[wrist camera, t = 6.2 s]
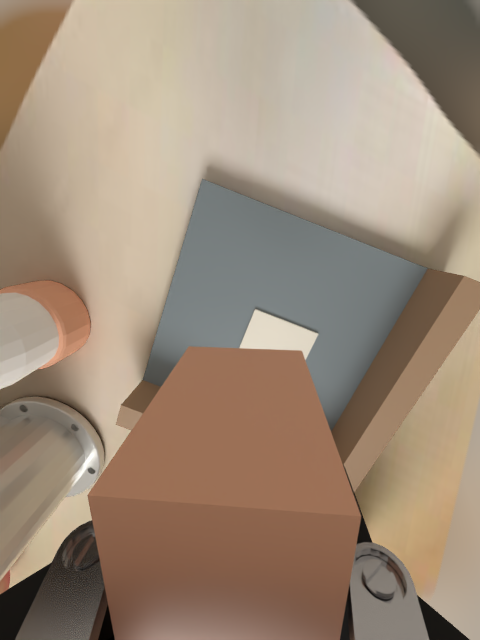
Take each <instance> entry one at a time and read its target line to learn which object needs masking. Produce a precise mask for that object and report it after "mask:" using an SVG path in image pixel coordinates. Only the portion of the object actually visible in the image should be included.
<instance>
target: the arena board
mask: <svg viewBox="0 0 480 640" xmlns="http://www.w3.org/2000/svg"><path fill="white" fill-rule="evenodd" d="M479 310H480V282H478V281H476V280H473V279H471V278H468V277H466V276H462V275H457V274H452V273H447V272H442V271H437V270H433V269H428V268H425V267H423V266H420V265H418V264H415V263H413V262H410V261H408V260H405V259H403V258H400V257H398V256H395V255H393V254H390V253H387V252H385V251H382V250H380V249H377V248H375V247H372V246H370V245H367V244H365V243H362V242H360V241H357V240H355V239H352V238H350V237H347V236H345V235H342V234H340V233H337V232H335V231H332V230H330V229H327V228H325V227H322V226H320V225H317V224H315V223H312V222H310V221H307V220H305V219H302V218H299V217H297V216H294V215H292V214H289V213H287V212H284V211H282V210H279V209H277V208H274V207H272V206H269V205H267V204H264V203H262V202H259V201H257V200H254V199H252V198H249V197H247V196H244V195H242V194H239V193H237V192H234V191H232V190H229V189H227V188H224V187H222V186H219V185H216V184H214V183H211V182H209V181H206V180H204V179H202V182H201V185H200V188H199V192H198V195H197V198H196V202H195V205H194V209H193V212H192V215H191V219H190V222H189V225H188V229H187V232H186V236H185V239H184V242H183V246H182V249H181V252H180V256H179V259H178V263H177V266H176V269H175V273H174V276H173V279H172V283H171V286H170V290H169V293H168V296H167V300H166V303H165V307H164V310H163V313H162V317H161V320H160V323H159V327H158V330H157V334H156V337H155V340H154V344H153V347H152V350H151V354H150V357H149V361H148V364H147V367H146V371H145V374H144V377H143V380H142V381H141V383H140V384H139V385H138V386H137V387H136V388H135V390H134V391H133V392H132V393H131V394H130V395H129V397H128V398H127V399H126V400H125V401H124V402H123V404H122V405H121V408H120V411H119V415H118V418H117V422H116V425H119V426H121V427H124V428H126V429H129V430H132V429H133V428H134V426H135V425H136V423H137V422H138V420H139V419H140V417H141V416H142V414H143V413H144V411H145V410H146V409H147V407H148V406H149V404H150V403H151V401H152V400H153V398H154V397H155V395H156V394H157V392H158V391H159V389H160V388H161V386H162V385H163V384H164V382H165V381H166V379H167V378H168V376H169V375H170V373H171V372H172V370H173V369H174V367H175V366H176V364H177V363H178V361H179V360H180V358H181V357H182V356H183V354H184V353H185V351H186V350H187V348H188V347H189V346H192V347H219V348H246V349H273V350H300V351H302V352H303V355H304V358H305V361H306V364H307V366H308V369H309V372H310V375H311V377H312V380H313V383H314V386H315V389H316V391H317V394H318V397H319V400H320V403H321V405H322V408H323V411H324V414H325V417H326V419H327V422H328V425H329V428H330V430H331V433H332V436H333V439H334V442H335V444H336V447H337V450H338V453H339V456H340V458H341V461H342V464H343V465H344V467H345V469H346V472H347V474H348V477H349V480H350V483H351V485H352V488H353V491H354V492H355V491H356V489H357V488H358V486H359V485H360V483H361V482H362V480H363V479H364V477H365V476H366V475H367V473H368V472H369V470H370V469H371V467H372V466H373V464H374V463H375V461H376V460H377V458H378V457H379V456H380V454H381V453H382V451H383V450H384V448H385V447H386V445H387V444H388V442H389V441H390V440H391V438H392V437H393V435H394V434H395V432H396V431H397V429H398V428H399V426H400V425H401V423H402V422H403V421H404V419H405V418H406V416H407V415H408V413H409V412H410V410H411V409H412V407H413V406H414V404H415V403H416V402H417V400H418V399H419V397H420V396H421V394H422V393H423V391H424V390H425V388H426V387H427V386H428V384H429V383H430V381H431V380H432V378H433V377H434V375H435V374H436V372H437V371H438V369H439V368H440V367H441V365H442V364H443V362H444V361H445V359H446V358H447V356H448V355H449V353H450V352H451V351H452V349H453V348H454V346H455V345H456V343H457V342H458V340H459V339H460V337H461V336H462V334H463V333H464V332H465V330H466V329H467V327H468V326H469V324H470V323H471V321H472V320H473V318H474V317H475V316H476V314H477V313H478V311H479Z"/></svg>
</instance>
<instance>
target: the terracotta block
mask: <svg viewBox="0 0 480 640" xmlns="http://www.w3.org/2000/svg"><path fill="white" fill-rule="evenodd" d="M88 500H89V506H90V511H91V516H92V522H93V527H94V532H95V537H96V543H97V548H98V553H99V559H100V564H101V569H102V574H103V580H104V585H105V590H106V596H107V601H108V606H109V611H110V617H111V622H112V627H113V633H114V638H115V640H340V635H341V630H342V624H343V618H344V613H345V607H346V601H347V595H348V590H349V584H350V578H351V573H352V567H353V561H354V556H355V550H356V544H357V538H358V533H359V527H360V521H361V514H360V511H359V508H358V506H357V503H356V500H355V497H354V495H353V492H352V489H351V486H350V483H349V481H348V478H347V475H346V472H345V469H344V467H343V464H342V461H341V458H340V456H339V453H338V450H337V447H336V444H335V442H334V439H333V436H332V433H331V430H330V428H329V425H328V422H327V419H326V417H325V414H324V411H323V408H322V405H321V403H320V400H319V397H318V394H317V391H316V389H315V386H314V383H313V380H312V377H311V375H310V372H309V369H308V366H307V364H306V361H305V358H304V355H303V352H302V351H300V350H273V349H246V348H219V347H192V346H189V347H188V348H187V350H186V351H185V353H184V354H183V356H182V357H181V358H180V360H179V361H178V363H177V364H176V366H175V367H174V369H173V370H172V372H171V373H170V375H169V376H168V378H167V379H166V381H165V382H164V384H163V385H162V386H161V388H160V389H159V391H158V392H157V394H156V395H155V397H154V398H153V400H152V401H151V403H150V404H149V406H148V407H147V409H146V410H145V411H144V413H143V414H142V416H141V417H140V419H139V420H138V422H137V423H136V425H135V426H134V428H133V429H132V431H131V432H130V434H129V435H128V436H127V438H126V439H125V441H124V442H123V444H122V445H121V447H120V448H119V450H118V451H117V453H116V454H115V456H114V457H113V459H112V460H111V461H110V463H109V464H108V466H107V467H106V469H105V470H104V472H103V473H102V475H101V476H100V478H99V479H98V481H97V482H96V484H95V485H94V487H93V488H92V489H91V491H90V492H89V494H88Z"/></svg>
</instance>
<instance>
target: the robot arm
mask: <svg viewBox="0 0 480 640" xmlns="http://www.w3.org/2000/svg"><path fill="white" fill-rule="evenodd" d="M103 466H104V450H103V446H102V443H101V440H100V438H99V436H98V434H97V432H96V431H95V429H94V428H93V427H92V425H91V424H90V423H89V422H88V420H86V419H85V418H84V417H83V416H82V415H81V414H80V413H79V412H77V411H75V410H74V409H72V408H71V407H69V406H67V405H65V404H63V403H61V402H59V401H56V400H52V399H49V398H43V397H24V398H20V399H17V400H15V401H13V402H11V403H9V404H7V405H6V406H4V407H3V408H2V409H0V581H1V580H2V578H3V577H4V576H5V574H6V573H7V572H8V571H9V569H10V568H11V567H12V565H13V564H14V563H15V562H16V560H17V559H18V558H19V556H20V555H21V554H22V552H23V551H24V550H25V549H26V547H27V546H28V545H29V543H30V542H31V541H32V539H33V538H34V537H35V536H36V534H37V533H38V532H39V530H40V529H41V528H42V526H43V525H44V524H45V523H46V521H47V520H48V519H49V517H50V516H51V515H52V514H53V512H54V511H55V510H56V508H57V507H58V506H59V504H60V503H61V502H62V501H63V499H64V498H65V497H70V496H75V495H78V494H80V493H83V492H84V491H86V490H87V489H89V488H90V487H91V486H92V485H93V483H94V482H95V481H96V479H97V478H98V476H99V475H100V473H101V471H102V468H103ZM343 467H344V465H343ZM344 469H345V467H344ZM345 472H346V469H345ZM346 475H347V478H348V481H349V483H350V480H349V477H348V474H347V472H346ZM350 486H351V489H352V492H353V495H354V497H355V500H356V503H357V506H358V508H359V511H360V514H361V521H360V527H359V533H358V538H357V544H356V550H355V556H354V561H353V567H352V573H351V578H350V584H349V590H348V595H347V601H346V607H345V613H344V618H343V624H342V630H341V635H340V640H469V639H468V638H467V637H466V636H465V635H463V634H462V633H461V632H460V631H459V630H458V629H456V628H455V627H454V626H453V625H452V624H451V623H449V622H448V621H447V620H446V619H445V618H443V617H442V616H441V615H440V614H439V613H438V612H436V611H435V610H434V609H433V608H432V607H430V606H429V605H428V604H427V603H426V602H425V601H423V600H422V599H421V598H420V597H419V596H418V595H417V594H416V590H415V587H414V583H413V581H412V578H411V576H410V574H409V572H408V570H407V569H406V567H405V566H404V564H403V563H402V562H401V561H400V560H399V559H398V558H397V557H396V556H395V555H394V554H393V553H392V552H391V551H389V550H388V549H386V548H385V547H383V546H380V545H378V544H375V543H372V540H371V538H370V535H369V532H368V529H367V527H366V524H365V521H364V518H363V516H362V513H361V510H360V507H359V505H358V502H357V499H356V496H355V494H354V491H353V488H352V485H351V483H350ZM0 640H115V638H114V633H113V627H112V622H111V617H110V611H109V606H108V601H107V596H106V590H105V585H104V580H103V574H102V569H101V564H100V559H99V553H98V548H97V543H96V537H95V532H94V527H93V522H92V521H89V522H87V523H85V524H82V525H80V526H79V527H78V528H76V529H75V530H74V531H72V532H71V533H70V534H69V535H68V536H67V537H66V538H65V540H64V541H63V542H62V544H61V546H60V547H59V549H58V551H57V553H56V555H55V557H54V559H53V561H52V563H50V564H49V565H47V566H45V567H44V568H42V569H41V570H39V571H37V572H36V573H34V574H32V575H31V576H29V577H27V578H26V579H24V580H23V581H21V582H19V583H18V584H16V585H14V586H13V587H11V588H10V589H8V590H6V591H5V592H3V593H1V594H0Z"/></svg>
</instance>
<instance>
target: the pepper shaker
mask: <svg viewBox="0 0 480 640" xmlns="http://www.w3.org/2000/svg"><path fill="white" fill-rule="evenodd" d="M90 324H91V323H90V318H89V314H88V311H87V309H86V307H85V305H84V303H83V302H82V300H81V299H80V298H79V297H78V296H77V295H76V294H75V293H74V292H73V290H71V289H69V288H68V287H66V286H64V285H63V284H61V283H57V282H54V281H50V280H45V281H35V282H30V283H24V284H19V285H14V286H9V287H5V288H3V289H0V389H2V388H5V387H7V386H10V385H12V384H14V383H16V382H17V381H19V380H21V379H22V378H24V377H25V376H27V375H29V374H30V373H32V372H33V371H35V370H37V369H44V368H46V367H49V366H52V365H54V364H56V363H57V362H59V361H61V360H62V359H64V358H66V357H67V356H69V355H70V354H72V353H74V352H75V351H77V350H78V349H80V348H81V347H82V346H83V345H84V344H85V343H86V341H87V339H88V336H89V334H90Z"/></svg>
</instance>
